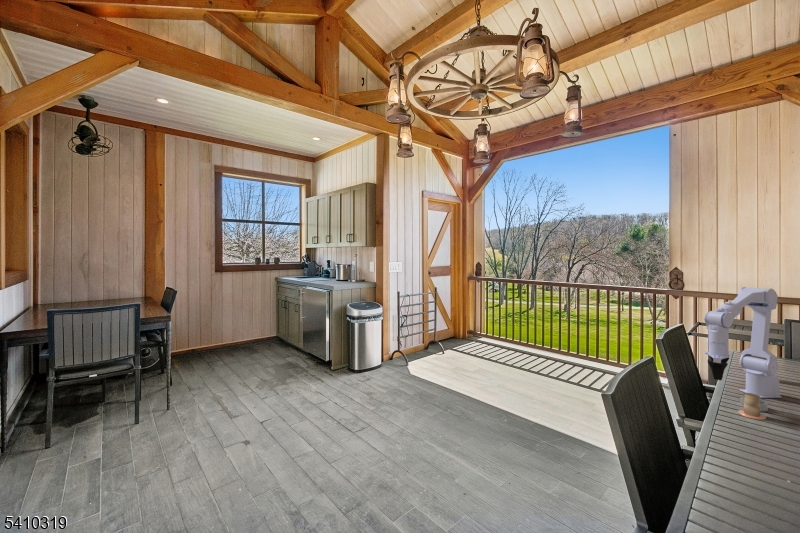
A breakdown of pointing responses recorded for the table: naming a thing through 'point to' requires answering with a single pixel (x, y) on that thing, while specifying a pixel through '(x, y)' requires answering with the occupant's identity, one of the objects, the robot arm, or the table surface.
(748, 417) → the coaster
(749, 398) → the peg
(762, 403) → the collar
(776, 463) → the table surface
